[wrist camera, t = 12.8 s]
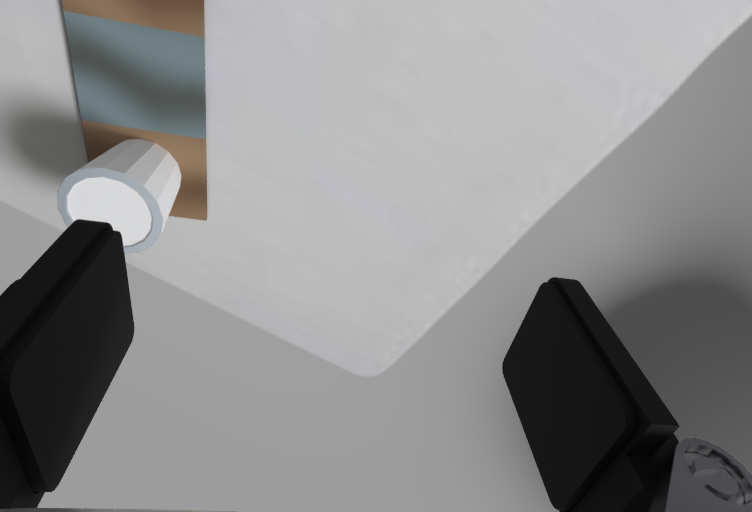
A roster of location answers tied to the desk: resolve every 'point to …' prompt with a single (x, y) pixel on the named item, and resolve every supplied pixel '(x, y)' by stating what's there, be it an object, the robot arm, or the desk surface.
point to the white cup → (124, 192)
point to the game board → (144, 82)
